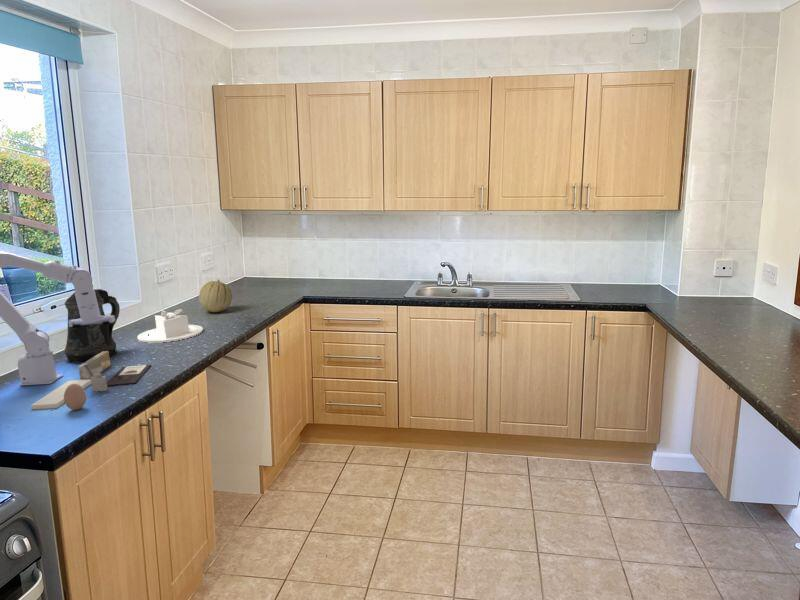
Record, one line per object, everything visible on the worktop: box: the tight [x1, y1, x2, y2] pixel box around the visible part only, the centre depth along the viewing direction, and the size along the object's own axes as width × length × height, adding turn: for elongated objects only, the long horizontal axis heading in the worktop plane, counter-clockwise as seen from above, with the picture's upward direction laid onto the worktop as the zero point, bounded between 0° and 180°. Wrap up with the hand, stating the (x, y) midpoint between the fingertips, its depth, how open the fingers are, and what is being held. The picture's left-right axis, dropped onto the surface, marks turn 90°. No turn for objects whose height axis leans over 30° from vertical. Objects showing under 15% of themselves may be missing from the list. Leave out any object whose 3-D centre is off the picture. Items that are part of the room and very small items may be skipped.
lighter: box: [80, 364, 109, 393], centre depth 173 cm, size 7×2×8 cm, turn 77°
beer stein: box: [64, 288, 121, 364], centre depth 209 cm, size 16×19×25 cm
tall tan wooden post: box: [77, 351, 112, 380], centre depth 189 cm, size 2×16×5 cm, turn 2°
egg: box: [64, 384, 87, 411], centre depth 158 cm, size 5×5×7 cm
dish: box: [137, 308, 204, 344], centre depth 234 cm, size 25×25×11 cm
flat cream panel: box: [30, 379, 92, 410], centre depth 170 cm, size 7×20×1 cm, turn 2°
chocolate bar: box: [107, 364, 152, 388], centre depth 185 cm, size 9×1×18 cm
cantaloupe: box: [198, 279, 233, 313], centre depth 272 cm, size 15×15×15 cm
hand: (97, 345), depth 191 cm, fingers open, 7 cm apart
